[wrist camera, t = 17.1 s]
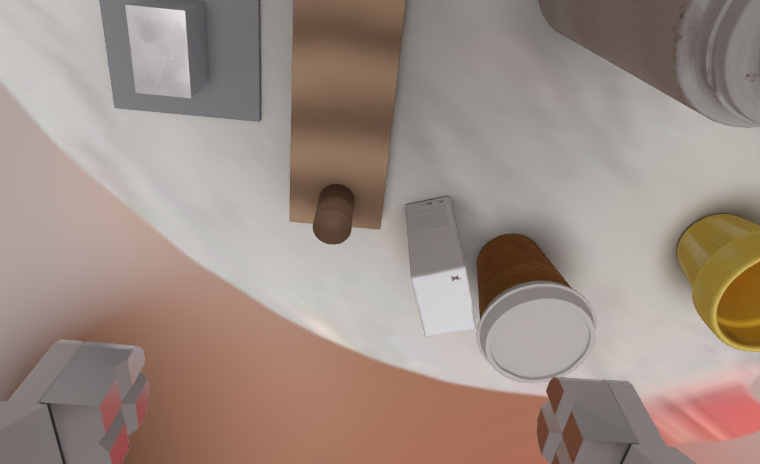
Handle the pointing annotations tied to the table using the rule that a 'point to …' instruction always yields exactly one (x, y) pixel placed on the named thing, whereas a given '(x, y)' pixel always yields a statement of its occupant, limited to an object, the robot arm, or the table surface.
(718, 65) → the thermos bottle
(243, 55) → the slate pad
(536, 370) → the disposable coffee cup
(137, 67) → the white rectangular box
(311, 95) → the walnut plane
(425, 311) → the skincare box
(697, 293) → the plant pot
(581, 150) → the table surface
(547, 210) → the table surface
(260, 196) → the table surface
